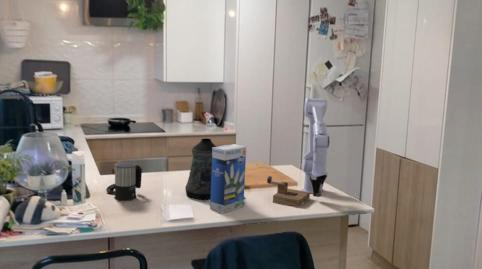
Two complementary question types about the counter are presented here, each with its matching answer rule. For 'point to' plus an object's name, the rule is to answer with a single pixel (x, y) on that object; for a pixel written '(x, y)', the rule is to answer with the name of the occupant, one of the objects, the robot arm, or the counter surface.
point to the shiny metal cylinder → (319, 192)
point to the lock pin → (269, 180)
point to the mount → (290, 195)
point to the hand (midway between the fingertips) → (317, 191)
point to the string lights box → (228, 177)
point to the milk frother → (126, 181)
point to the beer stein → (200, 171)
